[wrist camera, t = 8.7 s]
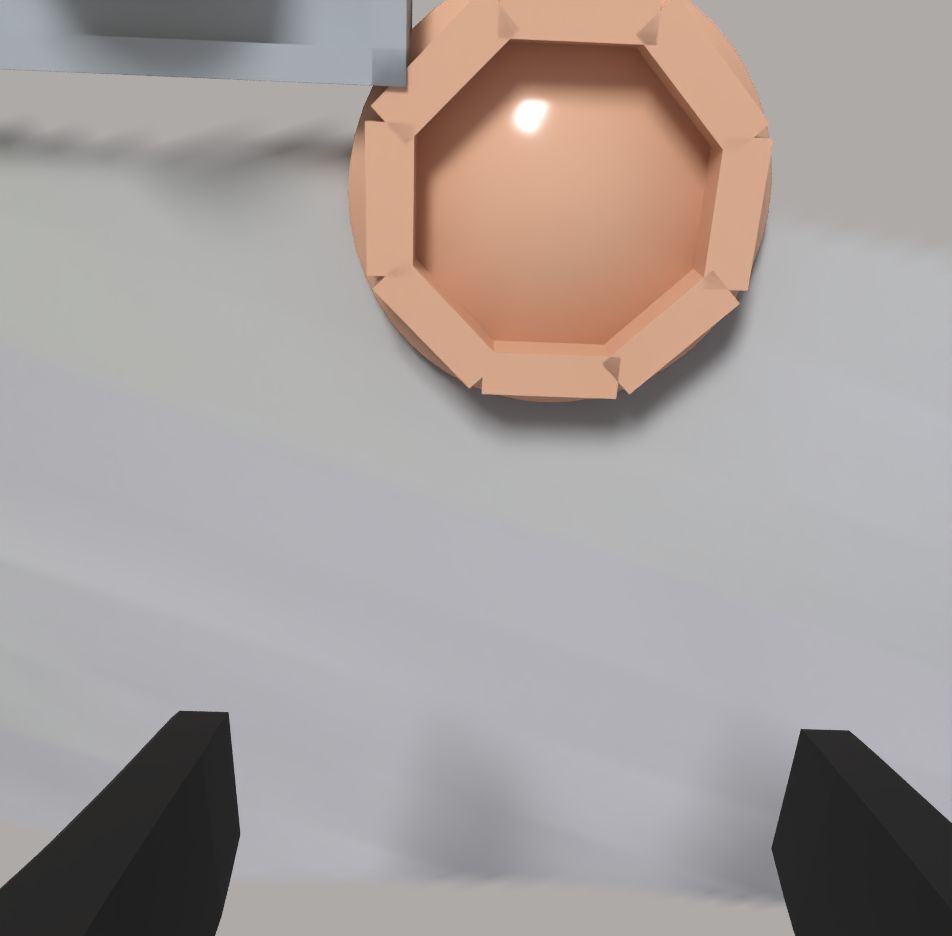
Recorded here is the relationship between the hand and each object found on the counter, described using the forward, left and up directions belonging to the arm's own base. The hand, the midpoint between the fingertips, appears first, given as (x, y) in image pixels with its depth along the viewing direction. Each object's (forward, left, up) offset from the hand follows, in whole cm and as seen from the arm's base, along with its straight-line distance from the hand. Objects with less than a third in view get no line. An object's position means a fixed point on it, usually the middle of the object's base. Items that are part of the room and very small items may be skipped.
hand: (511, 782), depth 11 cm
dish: (-1, -6, -10) cm, 12 cm away
